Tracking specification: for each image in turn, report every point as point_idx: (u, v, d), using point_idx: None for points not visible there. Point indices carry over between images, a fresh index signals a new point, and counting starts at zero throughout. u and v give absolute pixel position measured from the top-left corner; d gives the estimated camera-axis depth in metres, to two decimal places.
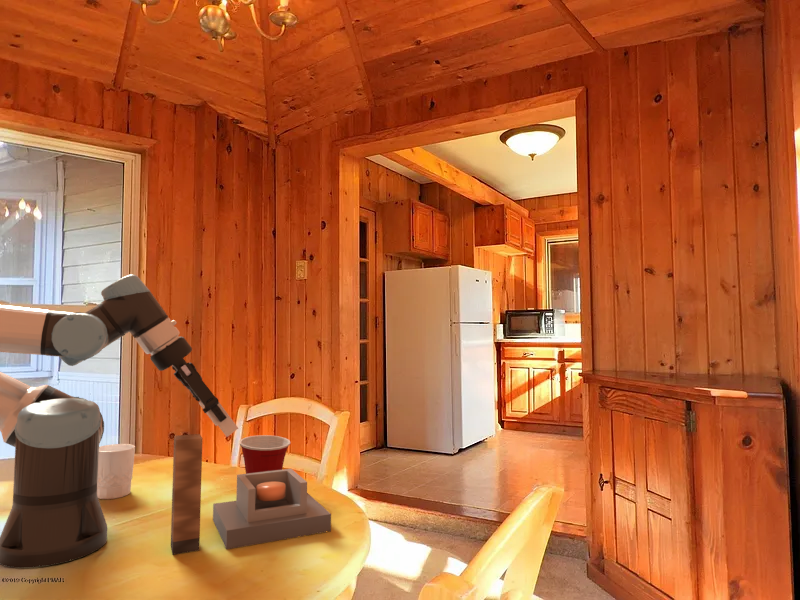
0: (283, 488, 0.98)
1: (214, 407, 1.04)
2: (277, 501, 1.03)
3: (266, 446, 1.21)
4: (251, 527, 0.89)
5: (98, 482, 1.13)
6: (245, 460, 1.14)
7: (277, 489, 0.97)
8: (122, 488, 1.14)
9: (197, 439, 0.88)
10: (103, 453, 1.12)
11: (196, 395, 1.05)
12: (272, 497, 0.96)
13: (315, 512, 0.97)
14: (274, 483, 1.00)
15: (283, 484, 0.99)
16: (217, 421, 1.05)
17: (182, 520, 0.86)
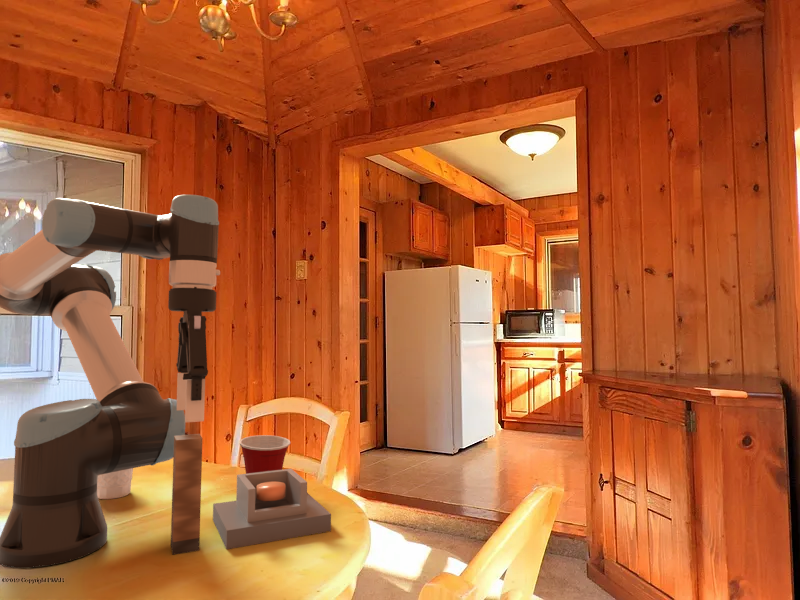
0: (283, 488, 0.98)
1: (197, 379, 0.82)
2: (277, 501, 1.03)
3: (266, 446, 1.21)
4: (251, 527, 0.89)
5: (98, 482, 1.13)
6: (245, 460, 1.14)
7: (277, 489, 0.97)
8: (122, 488, 1.14)
9: (197, 439, 0.88)
10: None
11: (187, 355, 0.84)
12: (272, 497, 0.96)
13: (315, 512, 0.97)
14: (274, 483, 1.00)
15: (283, 484, 0.99)
16: (188, 397, 0.83)
17: (182, 520, 0.86)
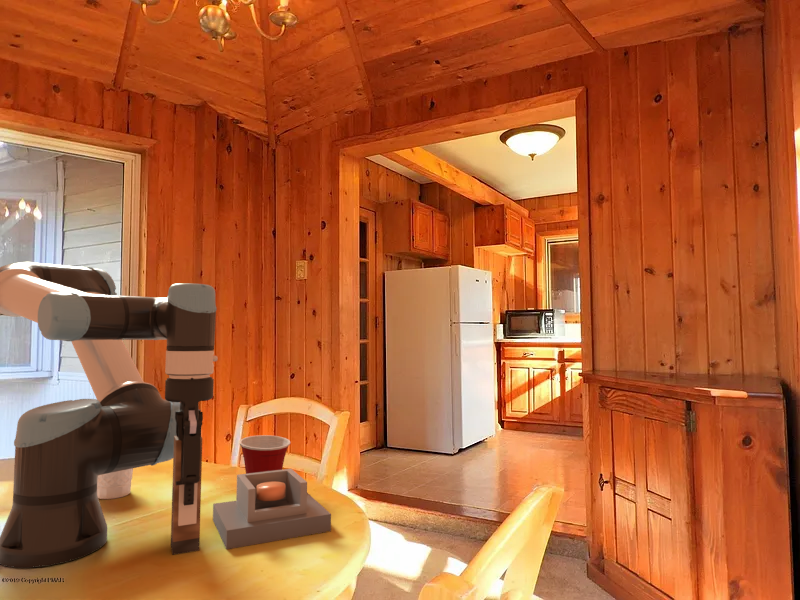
0: (283, 488, 0.98)
1: (189, 485, 0.85)
2: (277, 501, 1.03)
3: (266, 446, 1.21)
4: (251, 527, 0.89)
5: (98, 482, 1.13)
6: (245, 460, 1.14)
7: (277, 489, 0.97)
8: (122, 488, 1.14)
9: None
10: None
11: (181, 459, 0.85)
12: (272, 497, 0.96)
13: (315, 512, 0.97)
14: (274, 483, 1.00)
15: (283, 484, 0.99)
16: (181, 501, 0.86)
17: None
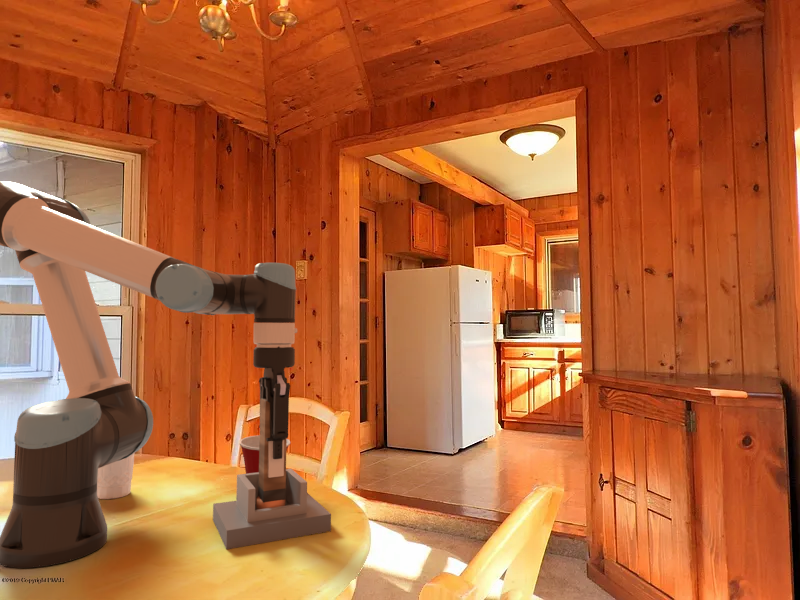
0: (283, 500, 0.98)
1: (278, 441, 0.96)
2: None
3: None
4: (251, 527, 0.89)
5: (98, 482, 1.13)
6: (245, 460, 1.14)
7: (277, 501, 0.97)
8: (122, 488, 1.14)
9: None
10: None
11: (271, 418, 0.96)
12: None
13: (315, 512, 0.97)
14: None
15: None
16: (271, 456, 0.96)
17: None
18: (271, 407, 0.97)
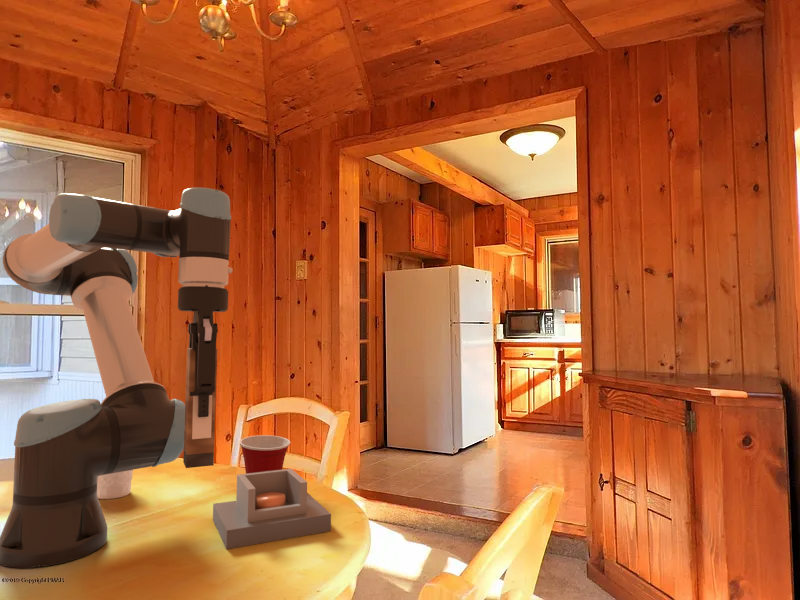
0: (283, 499, 0.98)
1: (204, 396, 0.81)
2: None
3: (266, 446, 1.21)
4: (251, 527, 0.89)
5: (98, 482, 1.13)
6: (245, 460, 1.14)
7: (277, 500, 0.97)
8: (122, 488, 1.14)
9: None
10: None
11: (196, 369, 0.81)
12: None
13: (315, 512, 0.97)
14: (274, 494, 1.00)
15: (283, 495, 0.99)
16: (195, 413, 0.81)
17: None
18: (196, 356, 0.82)
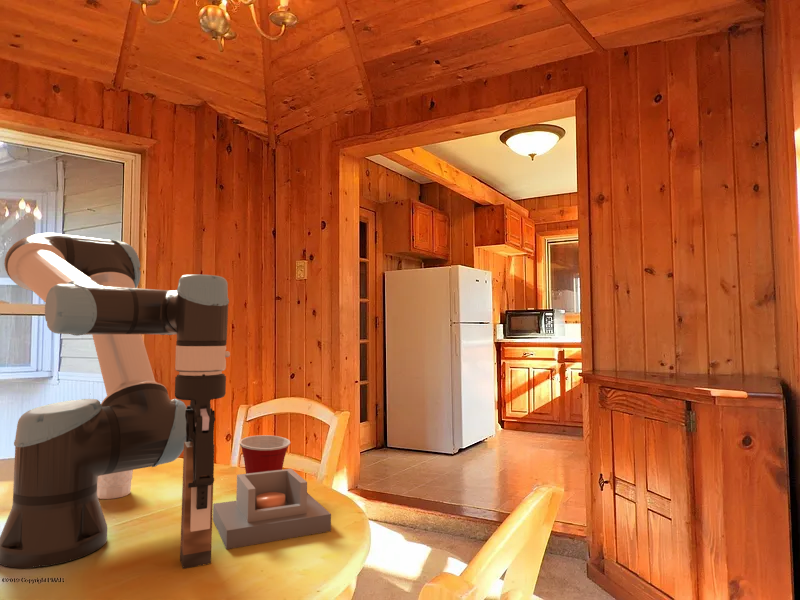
0: (283, 499, 0.98)
1: (203, 487, 0.79)
2: None
3: (266, 446, 1.21)
4: (251, 527, 0.89)
5: (98, 482, 1.13)
6: (245, 460, 1.14)
7: (277, 500, 0.97)
8: (122, 488, 1.14)
9: None
10: None
11: (193, 459, 0.80)
12: None
13: (315, 512, 0.97)
14: (274, 494, 1.00)
15: (283, 495, 0.99)
16: (194, 505, 0.79)
17: (193, 532, 0.81)
18: (194, 446, 0.80)
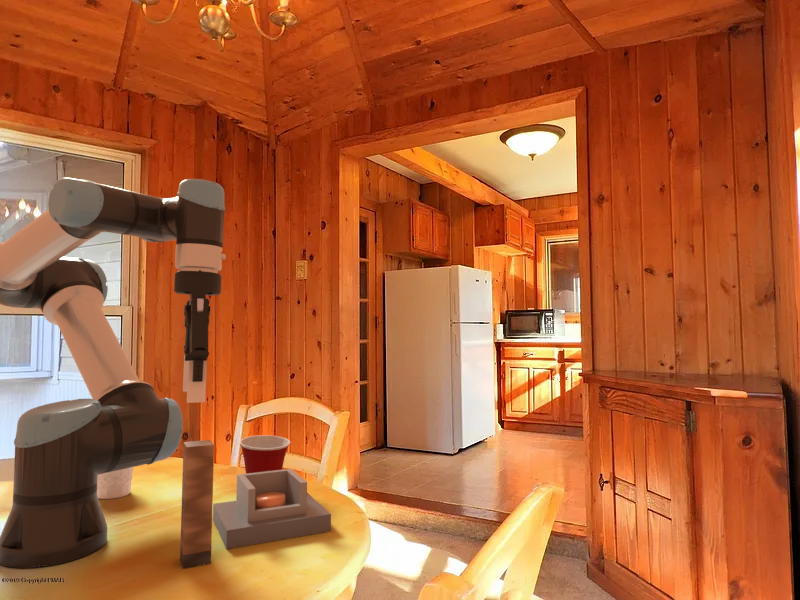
0: (283, 499, 0.98)
1: (198, 361, 0.83)
2: None
3: (266, 446, 1.21)
4: (251, 527, 0.89)
5: (98, 482, 1.13)
6: (245, 460, 1.14)
7: (277, 500, 0.97)
8: (122, 488, 1.14)
9: (208, 446, 0.83)
10: None
11: (190, 337, 0.85)
12: None
13: (315, 512, 0.97)
14: (274, 494, 1.00)
15: (283, 495, 0.99)
16: (190, 378, 0.84)
17: (193, 532, 0.81)
18: (191, 328, 0.87)
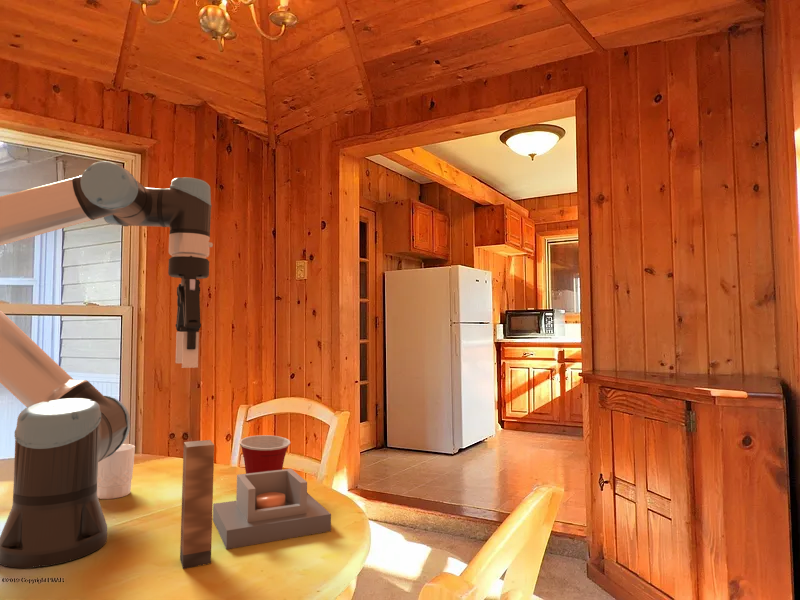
0: (283, 499, 0.98)
1: (192, 332, 0.98)
2: None
3: (266, 446, 1.21)
4: (251, 527, 0.89)
5: (98, 482, 1.13)
6: (245, 460, 1.14)
7: (277, 500, 0.97)
8: (122, 488, 1.14)
9: (209, 446, 0.83)
10: None
11: (184, 312, 1.00)
12: None
13: (315, 512, 0.97)
14: (274, 494, 1.00)
15: (283, 495, 0.99)
16: (185, 347, 0.98)
17: (193, 532, 0.81)
18: (184, 305, 1.01)
